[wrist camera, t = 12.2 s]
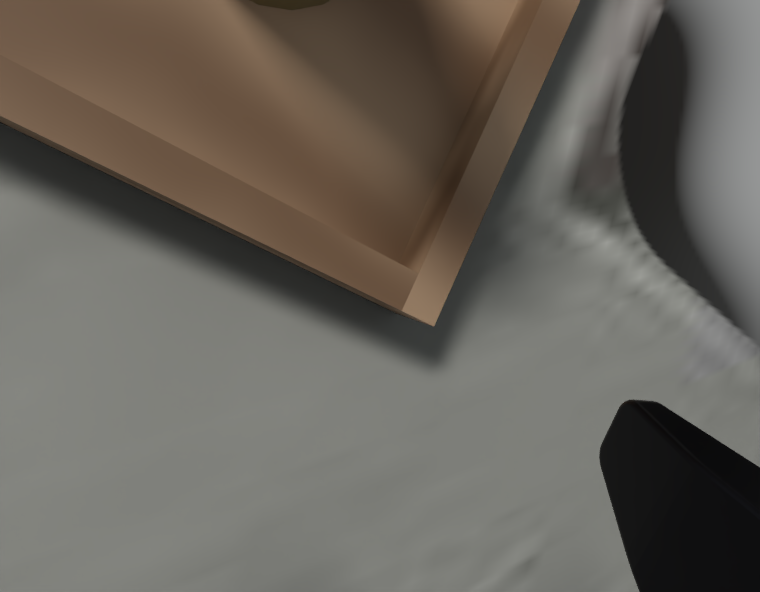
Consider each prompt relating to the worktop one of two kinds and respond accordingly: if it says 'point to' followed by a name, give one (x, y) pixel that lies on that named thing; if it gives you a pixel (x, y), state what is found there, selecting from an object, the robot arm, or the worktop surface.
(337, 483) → the worktop surface
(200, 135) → the walnut tray
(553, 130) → the worktop surface
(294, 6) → the cork
